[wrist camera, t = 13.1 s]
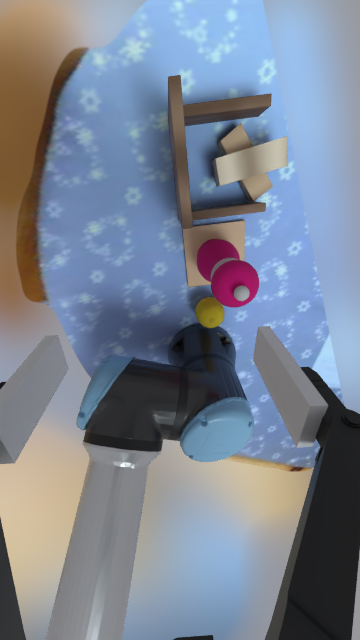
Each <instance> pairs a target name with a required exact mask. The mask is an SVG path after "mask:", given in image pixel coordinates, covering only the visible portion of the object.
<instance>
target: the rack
mask: <svg viewBox="0 0 360 640" xmlns="http://www.w3.org/2000/svg"><path fill="white" fill-rule="evenodd" d="M270 106H271V94H264V95H256V96H249V97H241V98H233V99H226V100H218V101H210V102H203V103H195V104H187V105H183V101H182V88H181V76H180V75H177V76H170V77H168V122H169V131H170V141H171V150H172V160H173V169H174V179H175V188H176V198H177V207H178V217H179V221H180V223H181V225H182V228H183V229H189V228H193V225H192V220H199V219H207V218H215V217H224V216H232V215H240V214H248V213H256V212H264V211H265V208H266V203H261V202H251V203H243V204H235V205H227V206H219V207H211V208H203V209H195V210H191V200H190V188H189V175H188V163H187V150H186V138H185V126H189V125H197V124H204V123H212V122H220V121H228V120H235V119H243V118H251V117H258V116H259V115H261V114H262V113H263V112H264V111H265V110H266V109H267V108H269V107H270Z"/></svg>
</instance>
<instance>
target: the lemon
mask: <svg viewBox="0 0 360 640" xmlns="http://www.w3.org/2000/svg"><path fill="white" fill-rule="evenodd" d="M195 313H196V318H197V319H198V321H199V323H200V324H201V325H203V326H204V327H207V328H214V327H217V326H219V325H220V324H221V323H222V321H223V319H224V308H223V305H222V304H221V303H220V302H219V301H217V299H215V298H212V297H206V298H203V299H202V300H200V301H199V303H198V304H197V306H196V311H195Z"/></svg>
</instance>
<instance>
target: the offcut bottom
mask: <svg viewBox="0 0 360 640" xmlns="http://www.w3.org/2000/svg"><path fill="white" fill-rule="evenodd" d="M217 145H218V147H219V148H220V150H221V152H222V154H223V156H225V155H228V154H231V153H235V152H238V151H241V150H244V149H247V148H251V147H253V146H252V144H251V142H250V140H249V138H248V136H247V134H246V132H245V130H244V128H243V126H242V124H241V123H240V124H239V125H238V126H237V127H236V128H234V129H233V130H232V131H231V132H230V133H229V134H228V135H227V136H226V137H224V138H223V139H222V140H221V141H220V142H219V143H218V144H217ZM238 182H239V184H240V186H241V188H242V189H243V191H244V193H245V195H246V197H247V198H248V200H249V201H255V200H256V199H257V198H259V197H260V196H261V195H262V194H264V193H265V192H266V191H267V190H269V189H270V188H271V187H273V186H272V184H271V182H270V180H269V178H268V176H267V174H266V172H265V173H262V174H259V175H255V176H252V177H249V178H245V179H242V180H239V181H238Z"/></svg>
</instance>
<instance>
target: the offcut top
mask: <svg viewBox="0 0 360 640" xmlns="http://www.w3.org/2000/svg"><path fill="white" fill-rule="evenodd" d="M212 164H213V169H214V175H215V181H216V187H217V186H222V185H225V184H229V183H232V182H235V181H239V180H242V179H245V178H249V177H252V176H255V175H259V174H262V173H265V172H269V171H272V170H275V169H279V168H282V167H285V166H288V147H287V136H286V137H283V138H280V139H276V140H273V141H270V142H267V143H264V144H260V145H257V146H254V147H251V148H247V149H244V150H241V151H238V152H235V153H231V154H228V155H225V156H222V157H219V158H215V159H214V160H213V161H212Z"/></svg>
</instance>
